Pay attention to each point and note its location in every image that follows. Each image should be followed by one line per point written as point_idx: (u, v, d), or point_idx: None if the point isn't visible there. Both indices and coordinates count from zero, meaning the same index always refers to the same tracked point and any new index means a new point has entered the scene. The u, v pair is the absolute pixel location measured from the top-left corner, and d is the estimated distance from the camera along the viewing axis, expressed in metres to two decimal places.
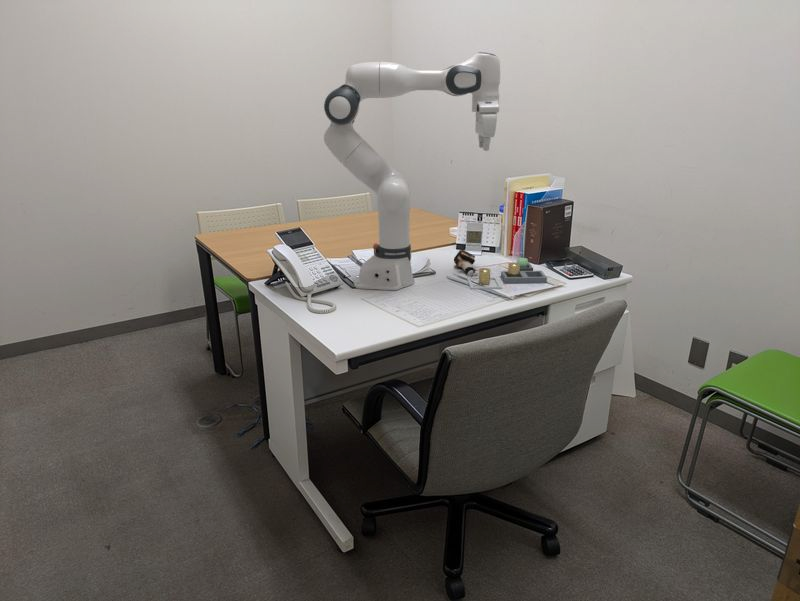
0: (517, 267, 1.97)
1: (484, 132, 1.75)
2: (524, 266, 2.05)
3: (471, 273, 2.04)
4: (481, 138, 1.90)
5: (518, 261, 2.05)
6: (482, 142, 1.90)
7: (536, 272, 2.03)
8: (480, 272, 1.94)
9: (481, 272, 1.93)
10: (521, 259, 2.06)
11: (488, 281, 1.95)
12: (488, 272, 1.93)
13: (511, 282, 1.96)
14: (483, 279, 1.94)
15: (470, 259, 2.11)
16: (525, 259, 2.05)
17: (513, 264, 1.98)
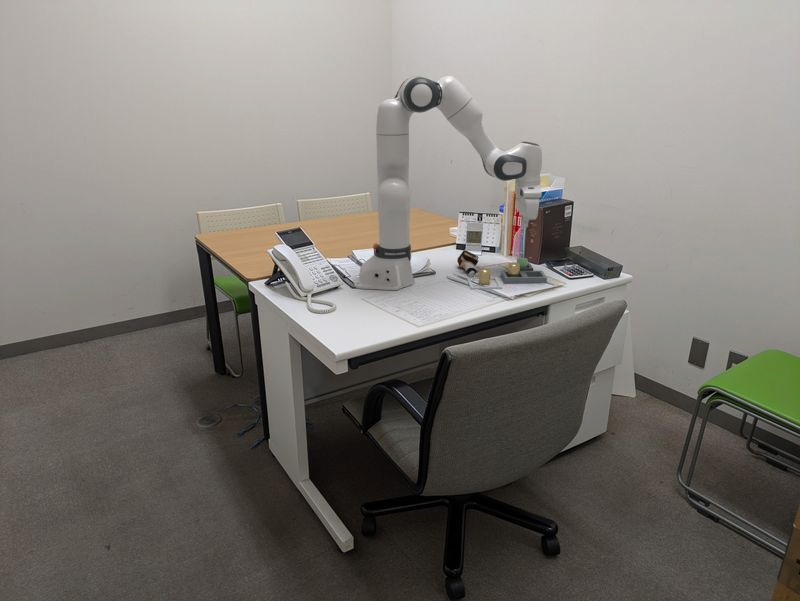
0: (517, 267, 1.97)
1: (527, 215, 1.90)
2: (524, 266, 2.05)
3: (472, 274, 2.03)
4: (523, 217, 2.02)
5: (518, 261, 2.05)
6: None
7: (536, 272, 2.03)
8: (480, 272, 1.94)
9: (481, 272, 1.93)
10: (521, 259, 2.06)
11: (488, 281, 1.95)
12: (488, 272, 1.93)
13: (511, 282, 1.96)
14: (483, 279, 1.94)
15: (473, 260, 2.10)
16: (525, 259, 2.05)
17: (513, 264, 1.98)
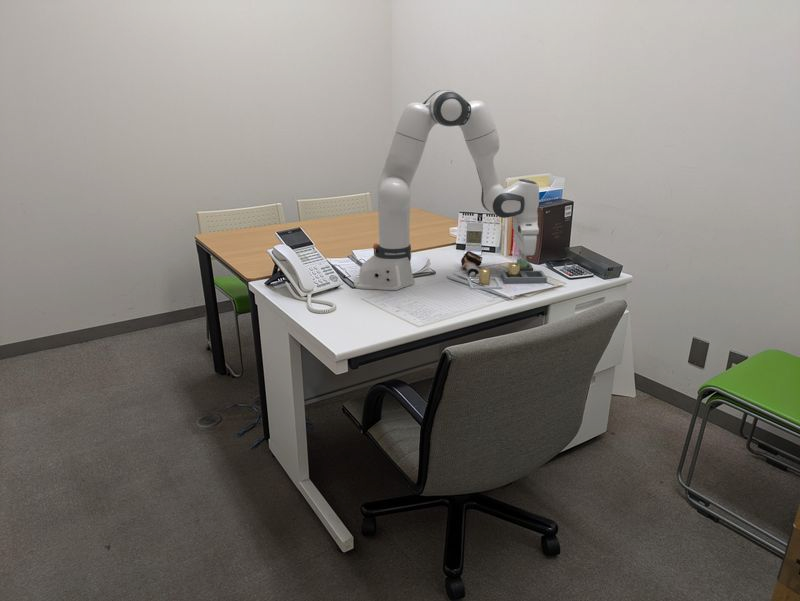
0: (517, 267, 1.97)
1: (525, 252, 1.94)
2: (524, 267, 2.05)
3: (472, 275, 2.02)
4: (521, 251, 2.06)
5: (518, 262, 2.05)
6: None
7: (536, 272, 2.03)
8: (480, 272, 1.94)
9: (481, 272, 1.93)
10: None
11: (488, 281, 1.95)
12: (488, 272, 1.93)
13: (511, 282, 1.96)
14: (483, 279, 1.94)
15: (476, 261, 2.09)
16: None
17: (513, 264, 1.98)
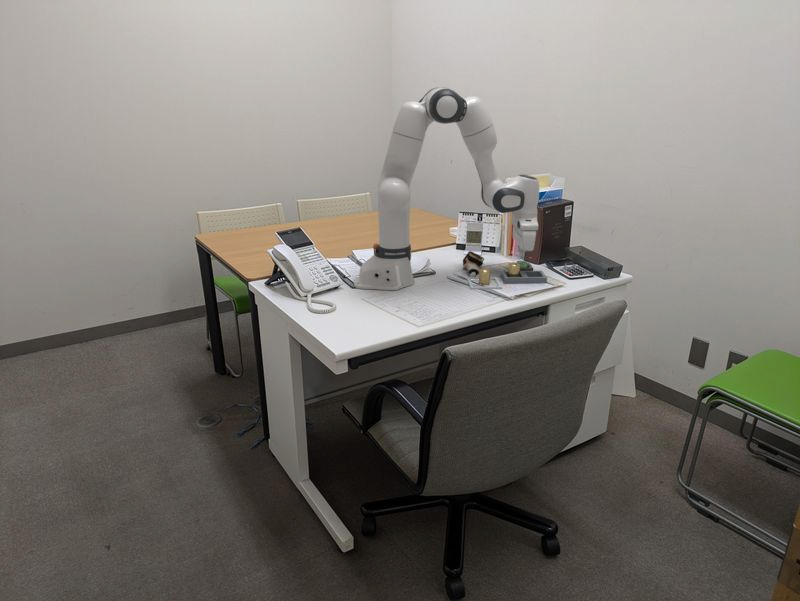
0: (517, 267, 1.97)
1: (524, 247, 1.94)
2: None
3: (473, 275, 2.01)
4: (520, 247, 2.06)
5: None
6: None
7: (536, 272, 2.03)
8: (480, 272, 1.94)
9: (481, 272, 1.93)
10: (521, 262, 2.06)
11: (488, 281, 1.95)
12: (488, 272, 1.93)
13: (511, 282, 1.96)
14: (483, 279, 1.94)
15: (477, 261, 2.09)
16: (525, 262, 2.06)
17: (513, 264, 1.98)
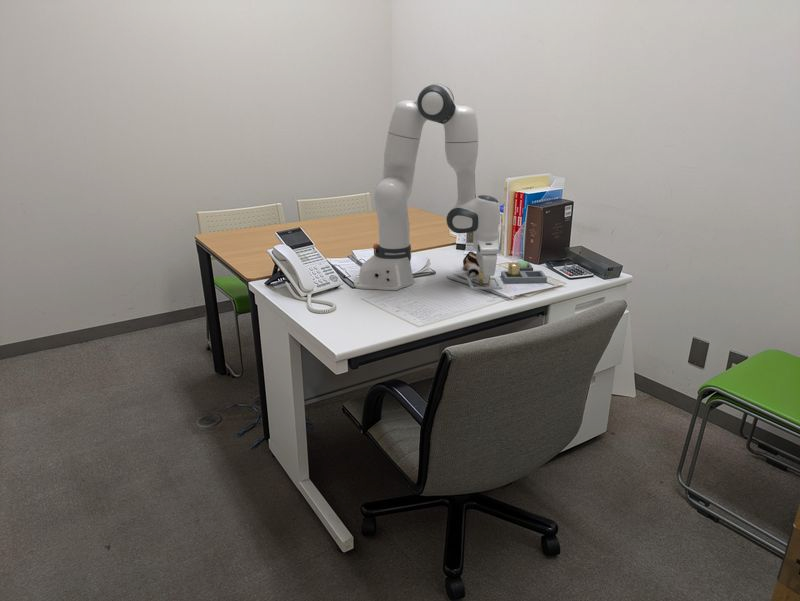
0: (517, 267, 1.97)
1: (484, 272, 1.84)
2: None
3: (472, 275, 2.01)
4: None
5: None
6: None
7: (536, 272, 2.03)
8: (480, 272, 1.94)
9: (481, 272, 1.93)
10: (521, 262, 2.06)
11: (488, 281, 1.95)
12: None
13: (511, 282, 1.96)
14: None
15: None
16: (525, 262, 2.06)
17: (513, 264, 1.98)
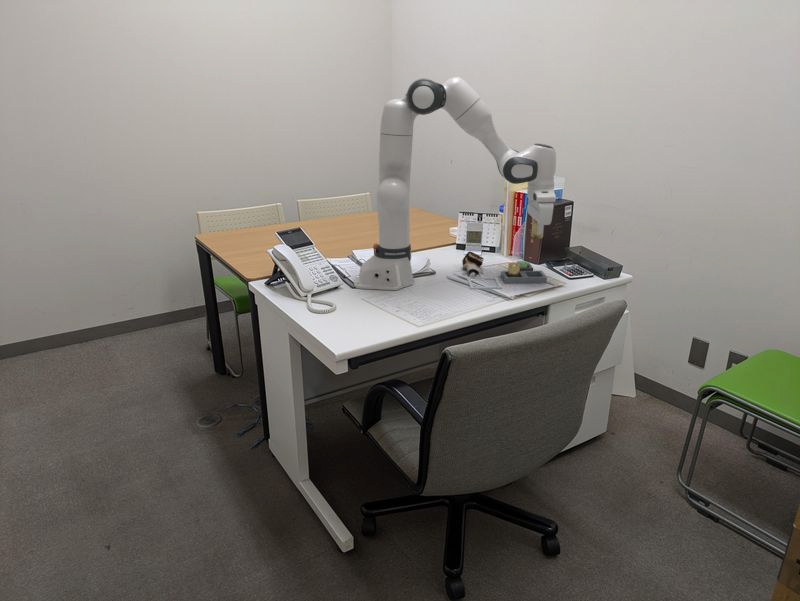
0: (517, 267, 1.97)
1: (541, 220, 1.82)
2: None
3: (472, 275, 2.01)
4: None
5: None
6: None
7: (536, 272, 2.03)
8: (534, 223, 1.92)
9: (535, 223, 1.91)
10: (521, 262, 2.06)
11: (542, 232, 1.92)
12: None
13: (511, 282, 1.96)
14: None
15: (477, 261, 2.09)
16: (525, 262, 2.06)
17: (513, 264, 1.98)
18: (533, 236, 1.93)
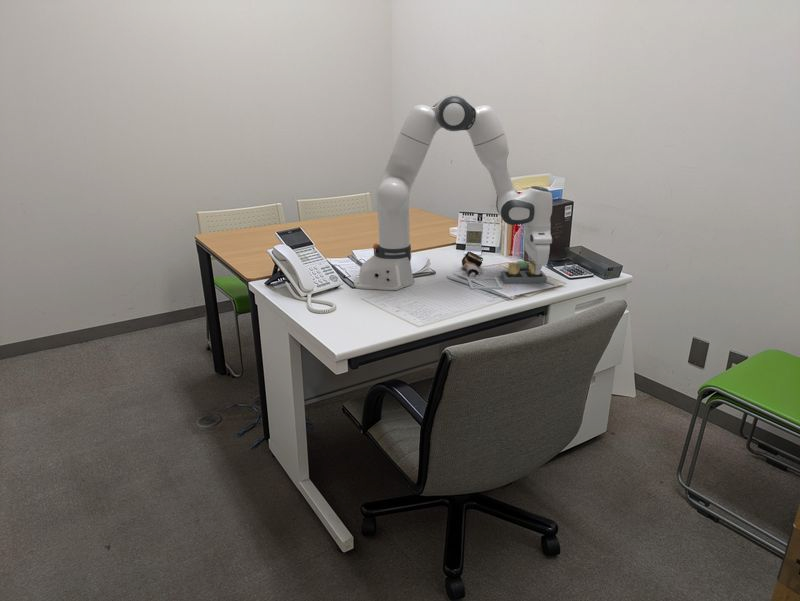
0: (517, 267, 1.97)
1: (538, 261, 1.87)
2: None
3: (472, 275, 2.01)
4: (530, 257, 2.03)
5: None
6: (532, 261, 2.02)
7: None
8: (530, 266, 1.97)
9: (531, 266, 1.97)
10: (521, 262, 2.06)
11: (538, 275, 1.98)
12: None
13: (511, 282, 1.96)
14: None
15: (476, 261, 2.09)
16: (525, 262, 2.06)
17: (513, 264, 1.98)
18: None
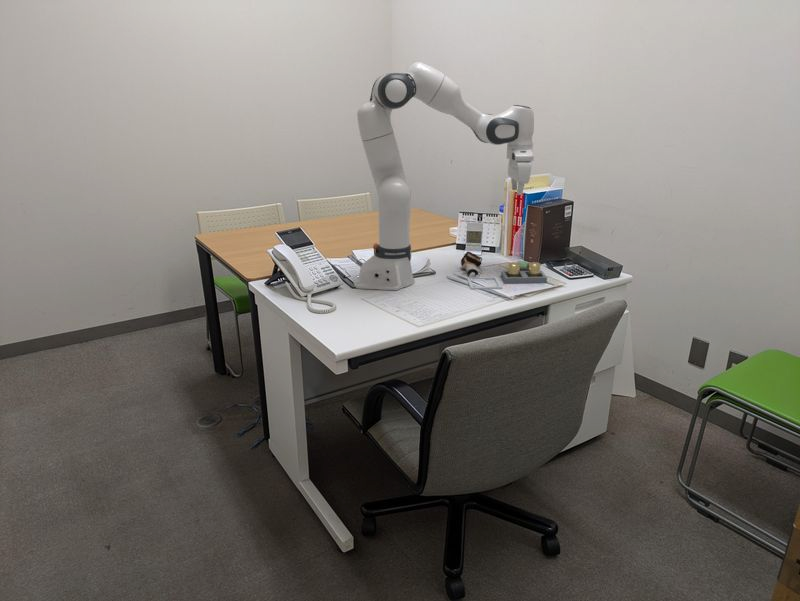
0: (517, 267, 1.97)
1: (519, 179, 1.88)
2: None
3: (472, 275, 2.01)
4: (513, 181, 2.04)
5: None
6: (515, 185, 2.03)
7: None
8: (530, 266, 1.97)
9: (531, 266, 1.97)
10: (521, 262, 2.06)
11: (538, 275, 1.98)
12: (538, 266, 1.97)
13: (511, 282, 1.96)
14: (534, 272, 1.97)
15: (476, 261, 2.09)
16: (525, 262, 2.06)
17: (513, 264, 1.98)
18: None
